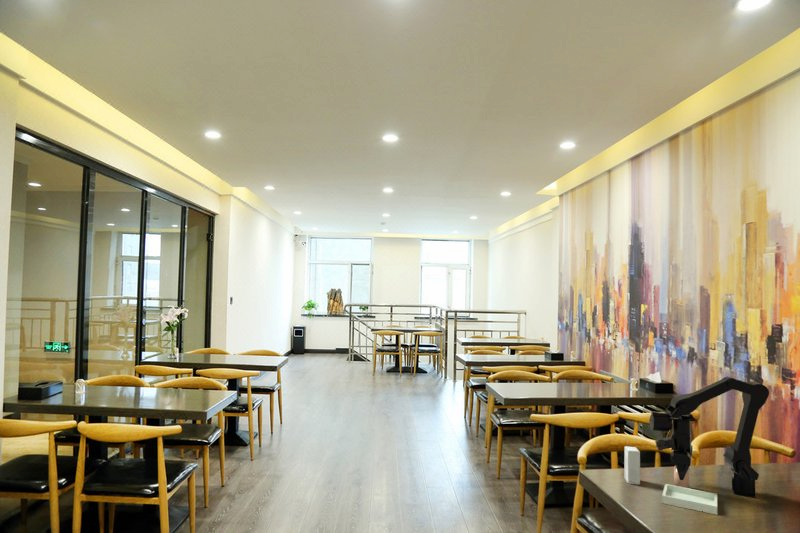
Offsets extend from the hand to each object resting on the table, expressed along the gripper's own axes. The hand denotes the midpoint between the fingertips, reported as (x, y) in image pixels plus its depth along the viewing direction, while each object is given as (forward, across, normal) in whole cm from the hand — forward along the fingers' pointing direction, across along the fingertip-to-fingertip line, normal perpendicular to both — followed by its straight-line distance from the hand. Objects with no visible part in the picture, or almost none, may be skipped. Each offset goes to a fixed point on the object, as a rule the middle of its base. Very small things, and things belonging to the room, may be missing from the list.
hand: (682, 476), depth 182 cm
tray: (+4, +14, +3) cm, 14 cm away
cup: (+4, 0, 0) cm, 4 cm away
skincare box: (+4, +4, -16) cm, 17 cm away
